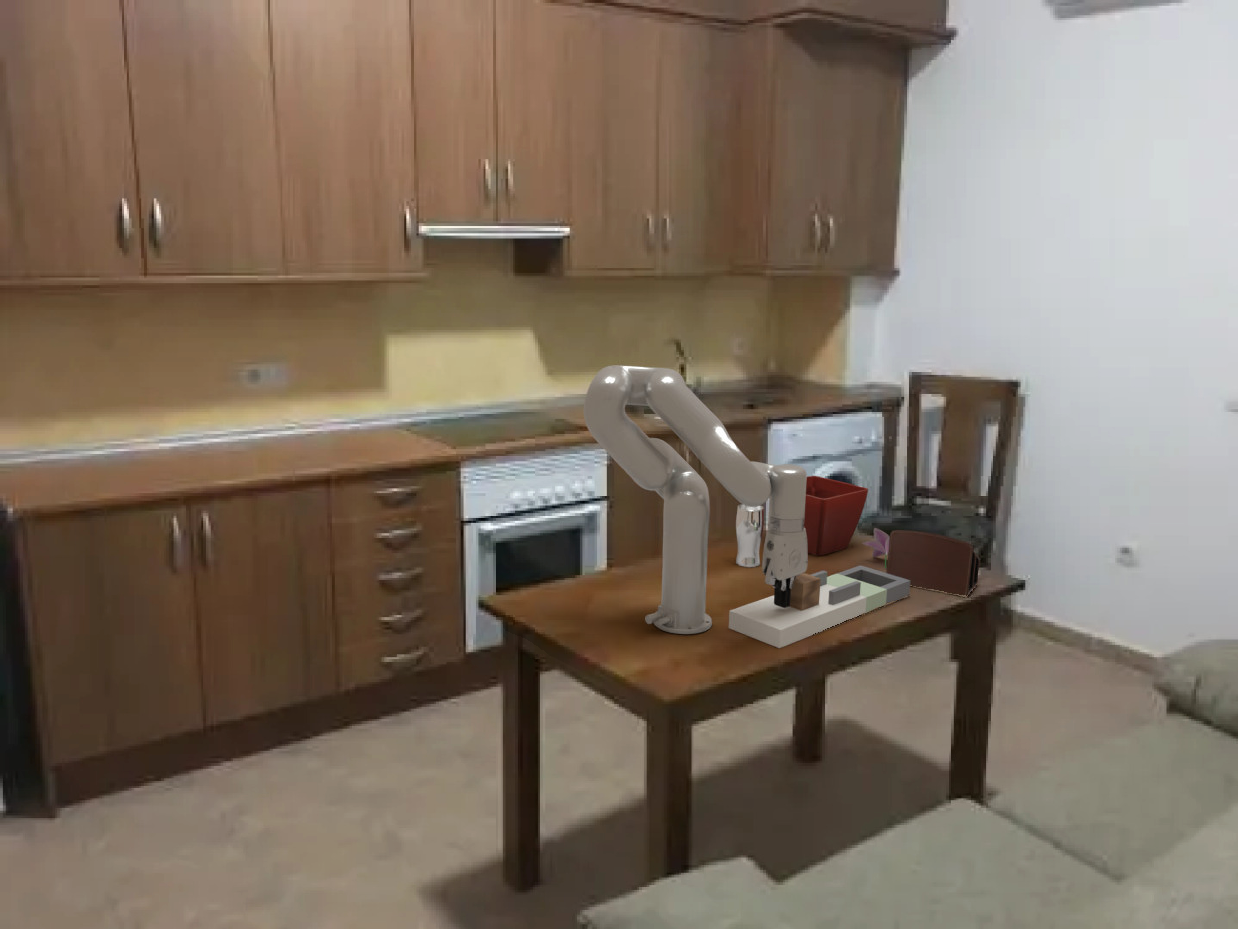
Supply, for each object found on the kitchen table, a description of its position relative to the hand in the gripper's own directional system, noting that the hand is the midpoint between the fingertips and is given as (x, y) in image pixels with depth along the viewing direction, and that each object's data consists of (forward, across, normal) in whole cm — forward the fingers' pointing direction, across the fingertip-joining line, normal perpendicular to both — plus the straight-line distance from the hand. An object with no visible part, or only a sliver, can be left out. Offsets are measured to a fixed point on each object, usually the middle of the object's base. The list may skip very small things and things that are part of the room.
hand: (781, 605), depth 226 cm
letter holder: (+6, +51, -5) cm, 51 cm away
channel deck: (+5, +15, 0) cm, 16 cm away
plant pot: (+6, +52, +32) cm, 61 cm away
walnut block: (+1, +6, 0) cm, 6 cm away
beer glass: (+5, +27, +33) cm, 43 cm away
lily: (+6, +55, +11) cm, 57 cm away
